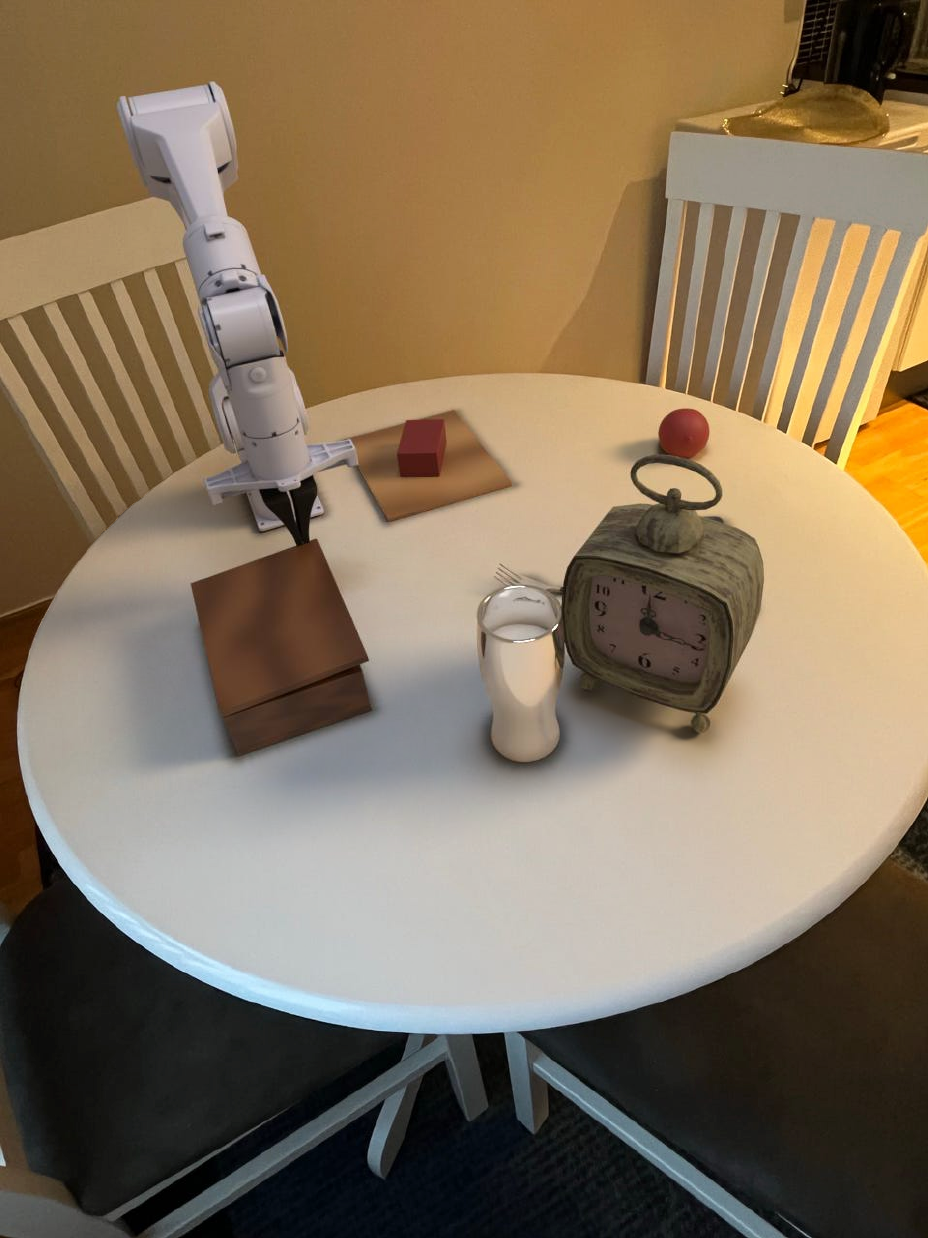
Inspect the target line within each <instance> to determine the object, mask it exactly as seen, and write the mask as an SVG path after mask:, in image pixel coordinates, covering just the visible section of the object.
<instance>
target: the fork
mask: <svg viewBox="0 0 928 1238" xmlns="http://www.w3.org/2000/svg"><path fill="white" fill-rule="evenodd" d="M498 565H500V566H501V567H502V568H504V569H505V570H506V571H505V570H504V569H502V568H500V567H497V570H499V571H500V572H501V573H503V574H505V575H506V576H508V577H509V578H508V577H506V576H505V575H503V574H501V573H499V572H498V571H495V574H497V575H498V576H500V578H499V577H497V576H496V575H493V578H495V580H497V581H499V582H501V583H502V584H503V585H505V586H510V585H518V584H524V585H532V586H537V587H540V588H542V589H545V590H547V591H556V592H561V593H563V586H552V585H549V584H545V583H543V582H540V581H538V580H535V579H532V578H529V577H527V576H524V575H522V574H521V573H520V574H519V573H518V572H516V571H514V570H513V569H511V568H509V567H507V566H506V565H504V564H502V563H501V562H500V563H499V564H498ZM507 571H508V572H510V573H512V574H513V575H512V574H510V573H508V572H507ZM501 578H503V579H504V580H505V581H504V580H502V579H501ZM510 578H511V579H510ZM512 579H513V580H512ZM506 581H507V582H506ZM508 582H509V583H510V584H509V583H508Z"/></svg>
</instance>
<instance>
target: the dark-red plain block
mask: <svg viewBox="0 0 928 1238" xmlns="http://www.w3.org/2000/svg"><path fill="white" fill-rule="evenodd" d="M404 423H405V426H404V430H403V433H402V437H401V440H400V444H399V447H398V451H397V458H398V465H399V471H400V477H439V476H440V472H441V467H442V462H443V457H444V453H445V448H446V443H447V441H446V431H445V422H444V419H426V420H419V419H406V420H405V422H404Z"/></svg>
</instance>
